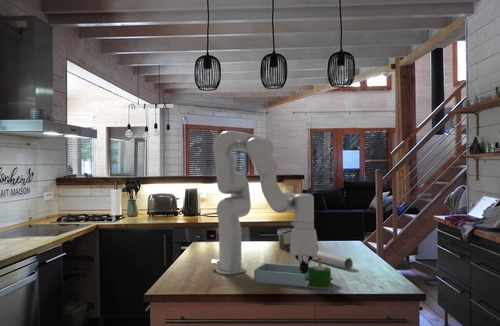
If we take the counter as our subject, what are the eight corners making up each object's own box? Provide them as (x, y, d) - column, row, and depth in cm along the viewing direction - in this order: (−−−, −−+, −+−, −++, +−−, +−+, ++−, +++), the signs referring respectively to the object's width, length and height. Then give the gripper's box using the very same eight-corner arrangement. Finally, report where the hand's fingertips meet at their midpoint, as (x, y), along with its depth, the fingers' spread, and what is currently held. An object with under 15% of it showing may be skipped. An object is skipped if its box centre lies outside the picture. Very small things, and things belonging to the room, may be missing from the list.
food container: (284, 245, 233) (284, 227, 233) (294, 246, 229) (294, 228, 229) (272, 249, 223) (272, 230, 223) (282, 250, 219) (282, 231, 219)
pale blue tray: (254, 281, 162) (254, 270, 162) (264, 273, 174) (264, 262, 174) (304, 286, 155) (304, 274, 155) (311, 277, 167) (311, 266, 167)
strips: (306, 288, 154) (306, 286, 154) (314, 277, 168) (314, 275, 168) (325, 289, 151) (325, 288, 151) (332, 278, 166) (332, 277, 166)
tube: (304, 251, 199) (342, 261, 178) (312, 246, 202) (351, 255, 181) (307, 261, 200) (345, 272, 179) (315, 256, 203) (354, 266, 182)
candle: (335, 283, 159) (335, 257, 159) (321, 287, 154) (321, 260, 154) (318, 278, 165) (317, 253, 165) (304, 283, 160) (304, 257, 160)
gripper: (282, 226, 161) (283, 273, 161) (321, 228, 156) (321, 277, 156) (287, 223, 168) (288, 268, 168) (325, 225, 163) (325, 272, 163)
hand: (304, 272), depth 162 cm, fingers closed
